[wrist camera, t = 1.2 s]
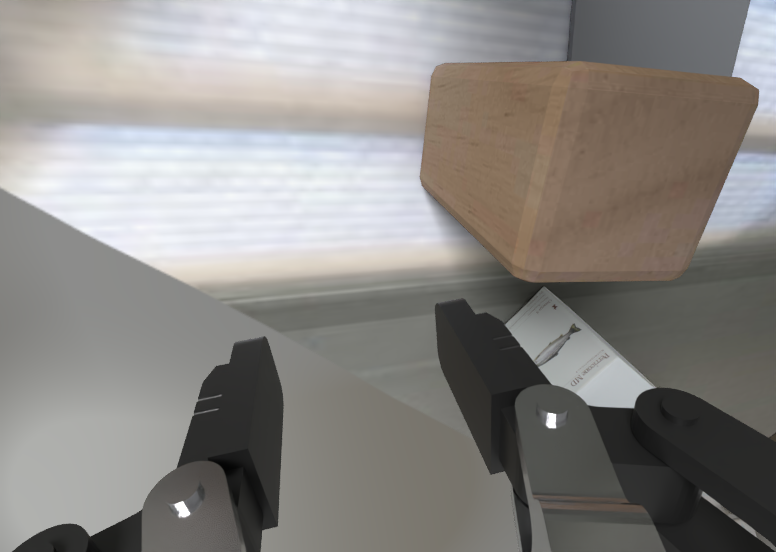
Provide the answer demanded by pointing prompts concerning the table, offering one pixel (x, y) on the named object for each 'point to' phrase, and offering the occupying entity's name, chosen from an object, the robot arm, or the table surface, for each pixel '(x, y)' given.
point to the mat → (659, 33)
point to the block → (583, 163)
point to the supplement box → (575, 354)
